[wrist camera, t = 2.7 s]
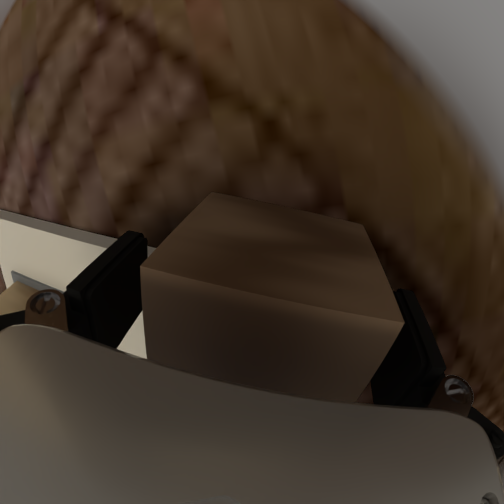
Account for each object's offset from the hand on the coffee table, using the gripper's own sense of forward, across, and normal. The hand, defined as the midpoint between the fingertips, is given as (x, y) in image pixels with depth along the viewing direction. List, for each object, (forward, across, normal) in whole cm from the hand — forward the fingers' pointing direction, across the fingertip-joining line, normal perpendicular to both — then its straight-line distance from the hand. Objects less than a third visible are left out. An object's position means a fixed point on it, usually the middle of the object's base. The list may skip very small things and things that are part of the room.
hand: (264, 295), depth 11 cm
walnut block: (+2, 0, 0) cm, 2 cm away
